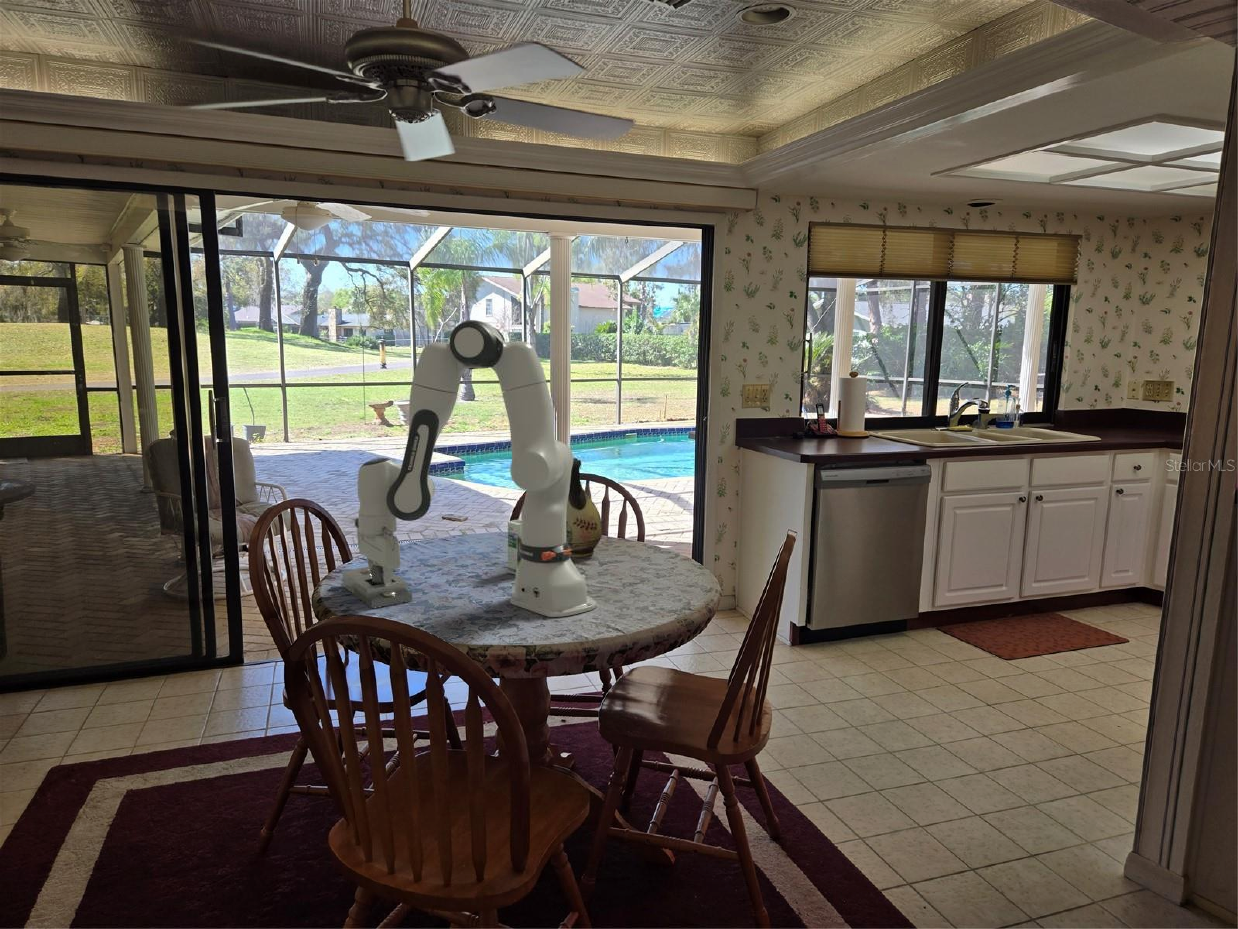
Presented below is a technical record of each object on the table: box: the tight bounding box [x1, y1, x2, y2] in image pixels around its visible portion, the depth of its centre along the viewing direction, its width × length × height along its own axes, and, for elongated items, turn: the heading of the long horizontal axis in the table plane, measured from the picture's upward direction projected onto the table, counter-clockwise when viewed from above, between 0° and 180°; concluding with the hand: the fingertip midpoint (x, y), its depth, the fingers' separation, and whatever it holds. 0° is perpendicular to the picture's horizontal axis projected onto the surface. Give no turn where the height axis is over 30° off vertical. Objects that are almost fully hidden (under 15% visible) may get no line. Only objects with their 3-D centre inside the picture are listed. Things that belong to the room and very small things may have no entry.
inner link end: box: [353, 588, 413, 609], centre depth 191 cm, size 13×10×3 cm
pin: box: [371, 563, 384, 586], centre depth 192 cm, size 4×4×9 cm
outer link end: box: [341, 566, 408, 598], centre depth 196 cm, size 19×10×5 cm, turn 37°
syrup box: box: [507, 519, 522, 576], centre depth 213 cm, size 6×6×14 cm
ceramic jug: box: [566, 457, 603, 558], centre depth 231 cm, size 17×15×30 cm
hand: (380, 578), depth 192 cm, fingers open, 8 cm apart
